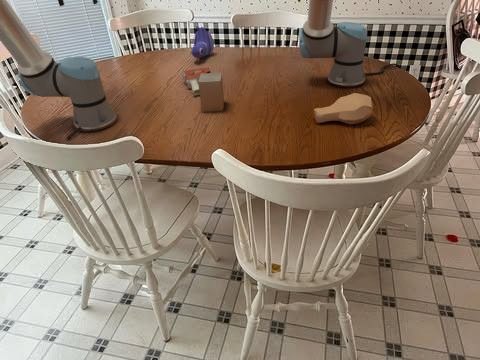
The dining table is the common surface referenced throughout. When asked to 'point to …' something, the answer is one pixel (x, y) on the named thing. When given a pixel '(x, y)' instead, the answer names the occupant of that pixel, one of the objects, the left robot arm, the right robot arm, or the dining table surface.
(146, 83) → the dining table surface
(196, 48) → the toy
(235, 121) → the dining table surface
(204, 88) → the block
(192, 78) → the tape dispenser
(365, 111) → the squash
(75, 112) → the left robot arm
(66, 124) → the dining table surface
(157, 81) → the dining table surface
